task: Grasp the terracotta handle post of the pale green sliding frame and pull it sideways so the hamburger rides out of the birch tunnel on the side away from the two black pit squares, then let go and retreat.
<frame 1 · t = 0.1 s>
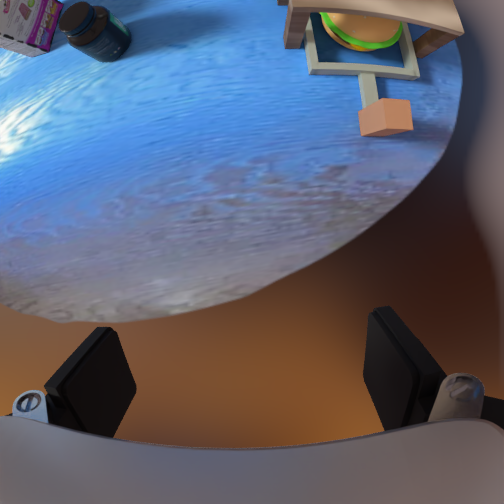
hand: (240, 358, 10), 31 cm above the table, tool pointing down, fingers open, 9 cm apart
tunnel: (353, 22, 32), on the table
candy bar box: (47, 31, 32), on the table
supplement bottle: (113, 44, 34), on the table
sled: (369, 41, 29), point 4 cm above the table, slide at 0.0 cm
hamburger: (353, 25, 32), on the table
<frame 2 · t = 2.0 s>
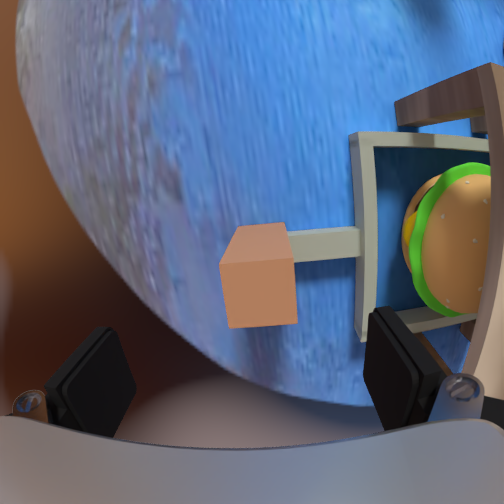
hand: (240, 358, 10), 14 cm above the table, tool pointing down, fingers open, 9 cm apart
tunnel: (450, 230, 22), on the table
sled: (422, 249, 18), point 5 cm above the table, slide at 0.0 cm
hamburger: (444, 229, 22), on the table
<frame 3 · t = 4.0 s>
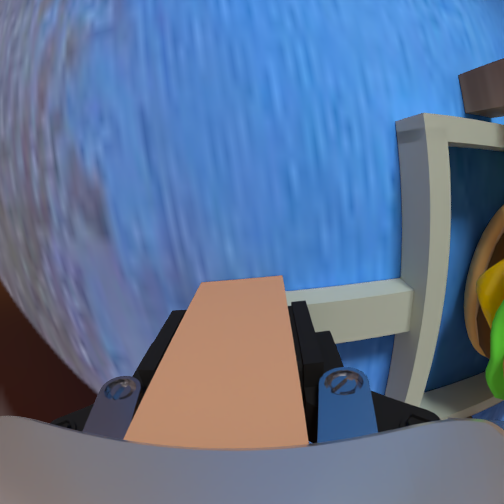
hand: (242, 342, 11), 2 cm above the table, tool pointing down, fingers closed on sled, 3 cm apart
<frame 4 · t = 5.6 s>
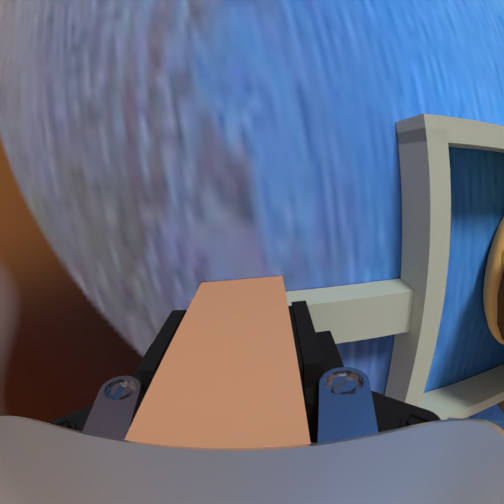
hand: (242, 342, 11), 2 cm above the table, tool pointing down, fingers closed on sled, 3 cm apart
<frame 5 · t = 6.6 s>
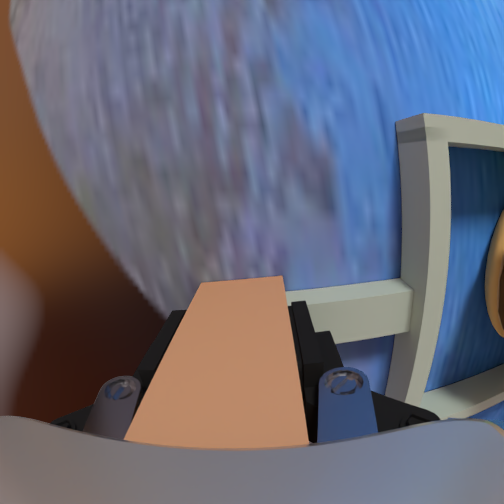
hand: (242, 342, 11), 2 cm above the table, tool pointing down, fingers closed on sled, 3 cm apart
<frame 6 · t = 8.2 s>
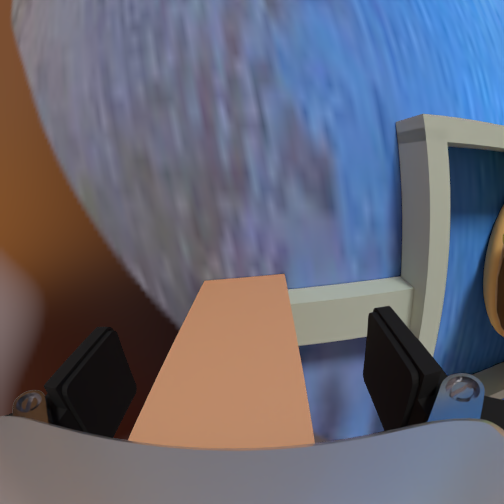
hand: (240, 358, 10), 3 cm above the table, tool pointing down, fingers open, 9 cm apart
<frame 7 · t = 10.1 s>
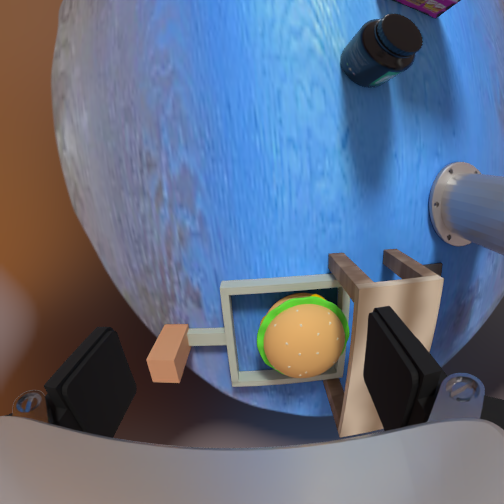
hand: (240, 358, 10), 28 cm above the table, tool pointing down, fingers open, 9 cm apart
tunnel: (359, 322, 41), on the table
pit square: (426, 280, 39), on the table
supplement bottle: (363, 66, 32), on the table
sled: (254, 349, 37), point 4 cm above the table, slide at 9.9 cm
hamburger: (299, 322, 41), on the table
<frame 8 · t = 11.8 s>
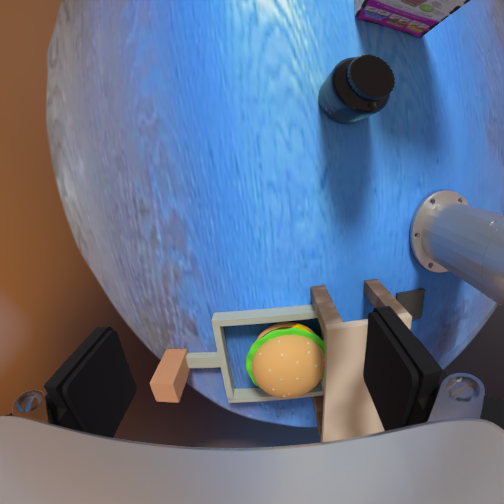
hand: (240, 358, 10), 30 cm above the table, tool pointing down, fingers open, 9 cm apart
tunnel: (343, 345, 44), on the table
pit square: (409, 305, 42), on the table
candy bar box: (387, 16, 30), on the table
supplement bottle: (342, 100, 35), on the table
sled: (244, 373, 41), point 5 cm above the table, slide at 9.9 cm
hamburger: (286, 346, 45), on the table
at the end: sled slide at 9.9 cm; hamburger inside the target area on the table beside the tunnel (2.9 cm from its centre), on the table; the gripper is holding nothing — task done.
